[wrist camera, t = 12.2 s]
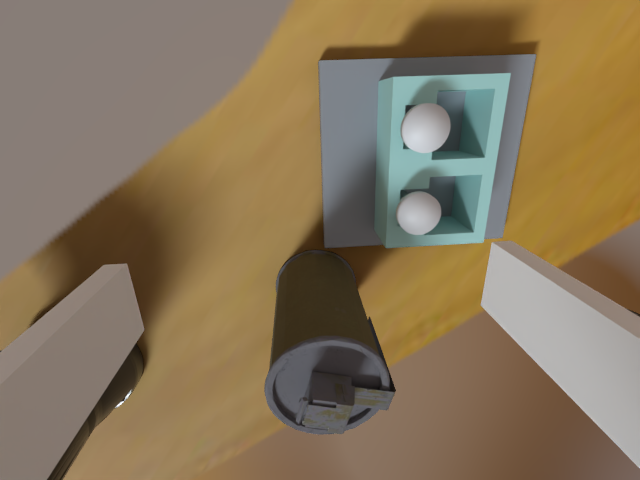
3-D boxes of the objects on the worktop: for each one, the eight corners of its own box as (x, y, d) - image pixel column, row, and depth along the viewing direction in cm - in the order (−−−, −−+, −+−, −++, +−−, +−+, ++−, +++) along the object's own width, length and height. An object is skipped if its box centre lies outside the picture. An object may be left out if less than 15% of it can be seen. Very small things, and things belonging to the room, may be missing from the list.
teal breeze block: (374, 229, 40) (385, 248, 35) (378, 81, 34) (393, 76, 29) (459, 225, 40) (483, 242, 35) (478, 78, 34) (510, 73, 29)
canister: (269, 312, 45) (250, 458, 26) (284, 241, 41) (276, 353, 23) (346, 325, 46) (380, 471, 28) (368, 258, 43) (424, 375, 24)
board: (323, 243, 42) (331, 279, 33) (318, 62, 34) (325, 47, 25) (495, 233, 43) (546, 266, 34) (526, 56, 35) (601, 40, 26)
